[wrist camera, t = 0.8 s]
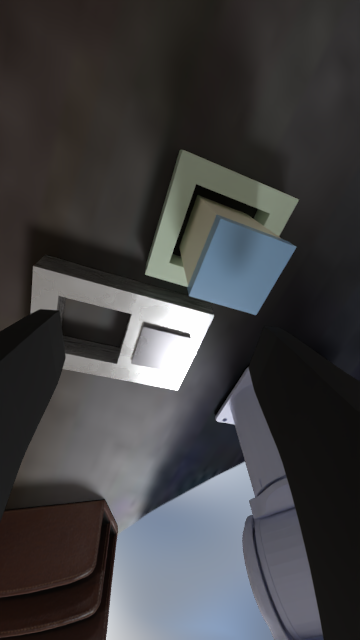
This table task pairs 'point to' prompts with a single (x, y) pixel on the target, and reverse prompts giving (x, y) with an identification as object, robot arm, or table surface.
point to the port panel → (142, 327)
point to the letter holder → (56, 571)
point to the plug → (231, 256)
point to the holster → (221, 180)
